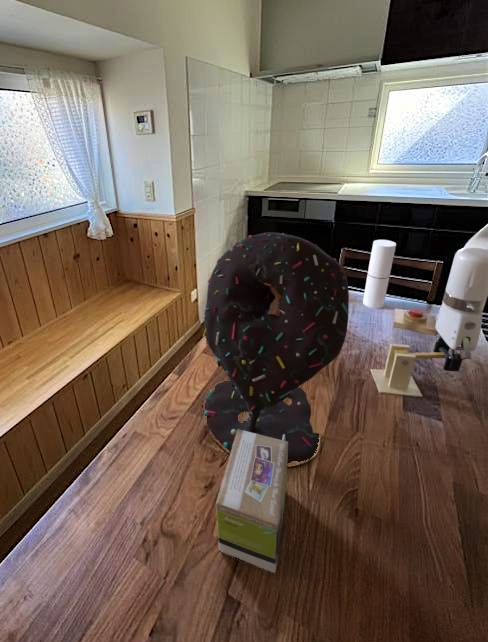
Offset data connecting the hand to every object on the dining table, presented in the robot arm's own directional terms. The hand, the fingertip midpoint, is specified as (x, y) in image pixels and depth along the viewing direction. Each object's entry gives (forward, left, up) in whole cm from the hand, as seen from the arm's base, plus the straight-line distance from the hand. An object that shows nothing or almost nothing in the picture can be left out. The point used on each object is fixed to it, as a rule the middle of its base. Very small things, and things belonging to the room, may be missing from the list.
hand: (445, 361), depth 85 cm
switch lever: (+5, 0, 0) cm, 5 cm away
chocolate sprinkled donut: (+45, +15, -9) cm, 49 cm away
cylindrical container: (+4, -45, -9) cm, 46 cm away
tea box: (+46, +41, -9) cm, 62 cm away
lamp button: (-5, -32, -6) cm, 33 cm away
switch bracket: (+10, 0, -9) cm, 14 cm away
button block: (-5, -32, -9) cm, 34 cm away
